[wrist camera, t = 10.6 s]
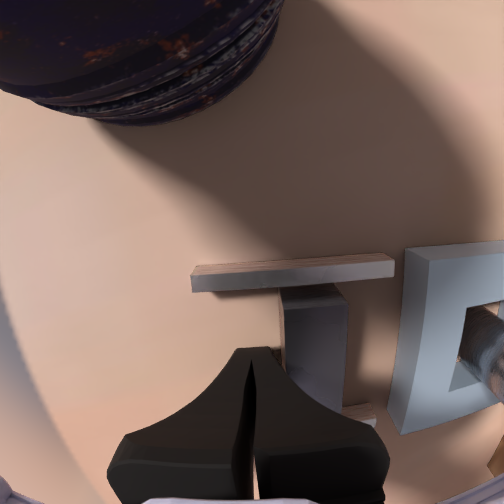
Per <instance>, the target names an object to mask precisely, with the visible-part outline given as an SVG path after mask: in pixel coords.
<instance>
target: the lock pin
mask: <svg viewBox="0 0 504 504" xmlns="http://www.w3.org/2000/svg"><path fill="white" fill-rule="evenodd" d="M457 357H458V358H459V359H460V360H461V361H462V362H463V363H464V364H465V365H466V366H467V367H468V368H469V369H470V370H471V371H472V372H473V373H474V374H475V375H476V376H477V377H478V378H479V379H480V380H481V381H482V382H483V383H484V384H485V385H486V386H487V387H488V389H489V390H490V391H491V392H492V393H493V394H494V395H495V396H496V397H497V398H498V399H499V400H500V401H501V402H502V403H503V405H504V320H503V319H501V318H500V317H498V316H497V315H495V314H494V313H492V312H491V311H489V310H488V309H486V308H485V307H483V306H482V305H478V306H473V307H468V308H467V309H466V315H465V321H464V326H463V332H462V337H461V342H460V346H459V351H458V355H457Z"/></svg>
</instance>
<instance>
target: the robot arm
mask: <svg viewBox="0 0 504 504" xmlns="http://www.w3.org/2000/svg"><path fill="white" fill-rule="evenodd" d="M254 456H255V464H256V473H257V481H258V489H259V496H260V499H259V500H254V485H253V459H254ZM389 465H390V457H389V455H388V452H387V449H386V447H385V445H384V443H383V441H382V440H381V438H380V437H379V435H378V434H377V433H376V431H375V430H374V428H373V427H372V426H371V425H370V424H367V423H363V422H360V421H357V420H354V419H351V418H348V417H346V416H343V415H341V414H339V413H337V412H335V411H333V410H331V409H329V408H327V407H325V406H324V405H322V404H320V403H319V402H317V401H316V400H314V399H313V398H312V397H310V396H309V395H308V394H307V393H305V392H304V391H303V390H302V389H301V388H300V387H299V386H298V385H297V384H296V383H295V382H294V381H293V380H292V379H291V378H290V377H289V376H288V374H287V373H286V372H285V371H284V369H283V368H282V367H281V365H280V364H279V363H278V361H277V359H276V358H275V356H274V354H273V352H272V350H271V348H270V347H268V346H266V347H250V348H237V349H236V350H235V351H234V353H233V355H232V356H231V358H230V359H229V361H228V362H227V364H226V365H225V367H224V368H223V369H222V371H221V372H220V373H219V375H218V376H217V377H216V378H215V379H214V381H213V382H212V383H211V384H210V385H209V386H208V387H207V388H206V389H205V390H204V391H203V392H202V393H201V394H200V395H199V396H198V397H197V398H196V399H194V400H193V401H192V402H191V403H189V404H188V405H186V406H185V407H183V408H182V409H180V410H179V411H177V412H176V413H174V414H173V415H171V416H169V417H167V418H165V419H164V420H162V421H159V422H157V423H155V424H153V425H151V426H149V427H146V428H143V429H141V430H138V431H135V432H132V433H129V434H126V435H125V436H124V438H123V439H122V441H121V442H120V444H119V446H118V448H117V450H116V452H115V454H114V456H113V458H112V460H111V463H110V465H109V467H108V469H107V479H108V481H109V484H110V486H111V487H112V489H113V490H114V492H115V494H116V495H117V497H118V498H119V500H120V501H121V503H122V504H384V502H383V501H385V494H384V491H383V488H382V486H383V484H384V481H385V478H386V475H387V472H388V469H389ZM0 504H44V503H41V502H39V501H36V500H34V499H31V498H29V497H26V496H24V495H21V494H19V493H17V492H15V491H13V490H12V489H11V487H10V485H9V484H8V483H7V482H6V480H5V479H4V478H3V477H1V476H0ZM436 504H504V473H502V474H500V475H499V476H497V477H495V478H493V479H491V480H489V481H487V482H485V483H483V484H481V485H479V486H476V487H474V488H472V489H470V490H468V491H466V492H463V493H461V494H459V495H456V496H454V497H451V498H449V499H446V500H444V501H441V502H439V503H436Z"/></svg>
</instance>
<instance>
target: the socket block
mask: <svg viewBox="0 0 504 504" xmlns="http://www.w3.org/2000/svg"><path fill="white" fill-rule="evenodd" d="M496 301H500V306H499V311H498V317H500V318H501V319H503V320H504V240H498V241H486V242H474V243H462V244H450V245H438V246H426V247H413V248H405V263H404V282H403V296H402V308H401V318H400V328H399V336H398V344H397V352H396V359H395V365H394V372H393V378H392V384H391V389H390V395H389V400H388V405H387V411H388V413H389V415H390V417H391V419H392V421H393V423H394V425H395V427H396V428H397V430H398V432H399V434H400V435H404V434H408V433H412V432H415V431H419V430H423V429H426V428H430V427H433V426H436V425H439V424H442V423H446V422H449V421H452V420H455V419H458V418H460V417H463V416H466V415H469V414H471V413H474V412H477V411H479V410H482V409H484V408H487V407H489V406H492V405H494V404H497V403H499V402H501V401H500V400H499V399H498V398H497V397H496V396H495V395H494V394H493V393H492V392H491V391H490V390H489V389H488V387H487V386H486V385H485V384H484V383H483V382H482V381H481V380H480V379H479V378H478V377H477V376H476V375H475V374H474V373H473V372H472V371H471V370H470V369H469V368H468V367H467V366H466V365H465V364H464V363H463V362H462V361H460V362H456V360H457V355H458V351H459V346H460V342H461V337H462V332H463V326H464V321H465V315H466V309H467V308H468V307H473V306H478V305H482V304H487V303H492V302H496Z"/></svg>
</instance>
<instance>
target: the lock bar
mask: <svg viewBox="0 0 504 504" xmlns="http://www.w3.org/2000/svg"><path fill="white" fill-rule="evenodd" d="M278 295H279V315H280V336H281V360H282V368H283V369H284V371H285V372H286V373H287V374H288V376H289V377H290V378H291V379H292V380H293V381H294V382H295V383H296V384H297V385H298V386H299V387H300V388H301V389H302V390H303V391H304V392H305V393H307V394H308V395H309V396H310V397H312V398H313V399H314V400H316V401H317V402H319V403H320V404H322V405H324V406H325V407H327V408H329V409H331V410H333V411H335V412H337V413H339V414H341V410H342V400H343V389H344V377H345V364H346V348H347V329H348V303H347V301H346V300H345V299H344V297H343V296H342V294H341V293H340V292H339V290H338V289H337V288H336V286H335V285H334V283H323V284H311V285H299V286H286V287H278Z"/></svg>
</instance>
